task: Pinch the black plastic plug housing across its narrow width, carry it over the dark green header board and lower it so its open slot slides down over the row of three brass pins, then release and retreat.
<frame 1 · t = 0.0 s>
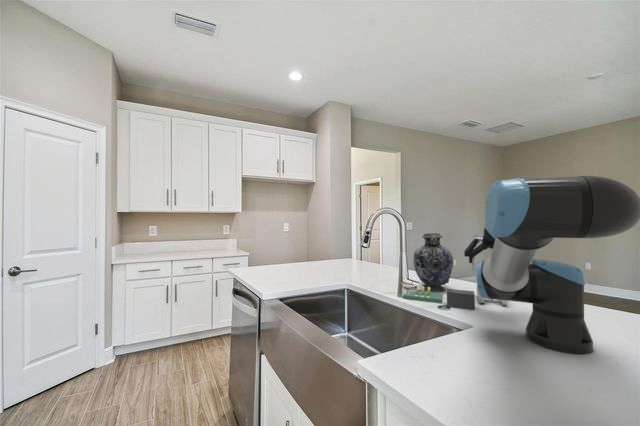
hand: (492, 269, 116), 15 cm above the worktop, tool tilted 35°, fingers open, 13 cm apart
decorative vase: (432, 289, 145), on the worktop
header board: (423, 297, 129), on the worktop
cable organizer: (490, 301, 123), on the worktop
plug housing: (460, 306, 117), on the worktop
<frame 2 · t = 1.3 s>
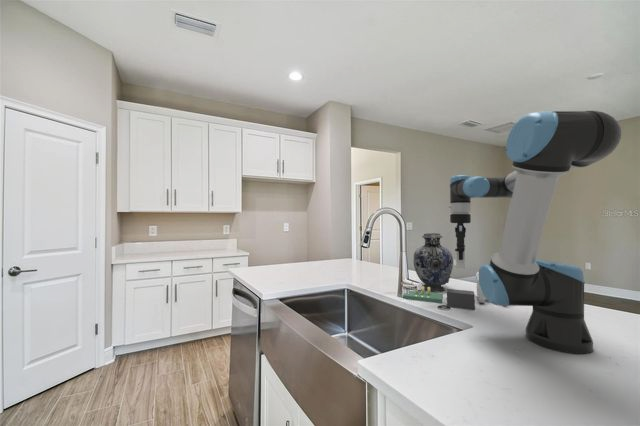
hand: (460, 265, 117), 17 cm above the worktop, tool pointing down, fingers open, 13 cm apart
nothing on the worktop moved.
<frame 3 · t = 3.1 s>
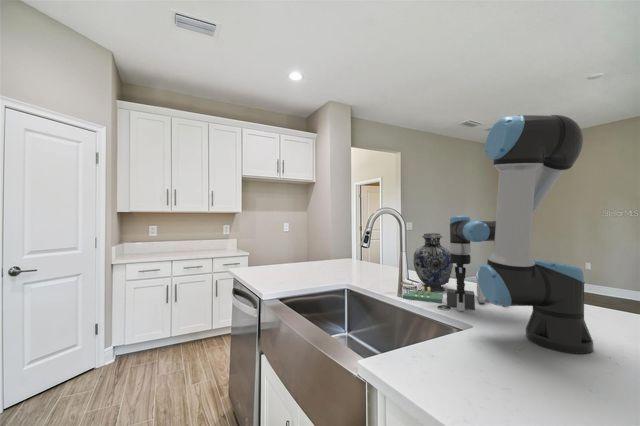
hand: (460, 305, 117), 0 cm above the worktop, tool pointing down, fingers open, 13 cm apart
nothing on the worktop moved.
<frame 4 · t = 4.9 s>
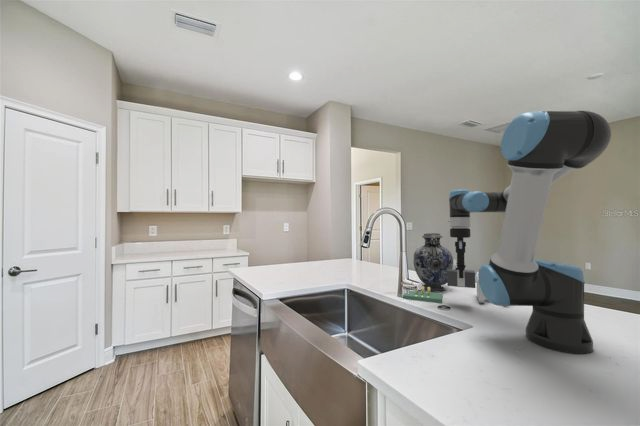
hand: (460, 284, 116), 9 cm above the worktop, tool pointing down, fingers closed on plug housing, 6 cm apart
plug housing: (460, 285, 116), point 9 cm above the worktop, touching gripper
everything else where it was.
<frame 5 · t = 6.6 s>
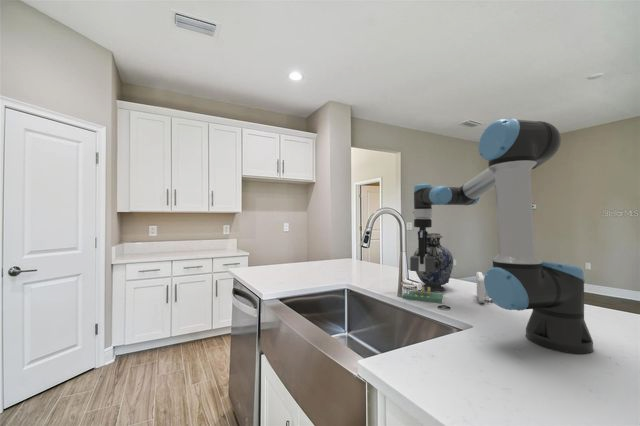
hand: (422, 269, 129), 13 cm above the worktop, tool pointing down, fingers closed on plug housing, 6 cm apart
plug housing: (422, 270, 129), point 12 cm above the worktop, touching gripper
everything else where it was.
when the fingers open (2 cm above the worktop, at t = 8.7 s): plug housing stays where it is, resting on header board.
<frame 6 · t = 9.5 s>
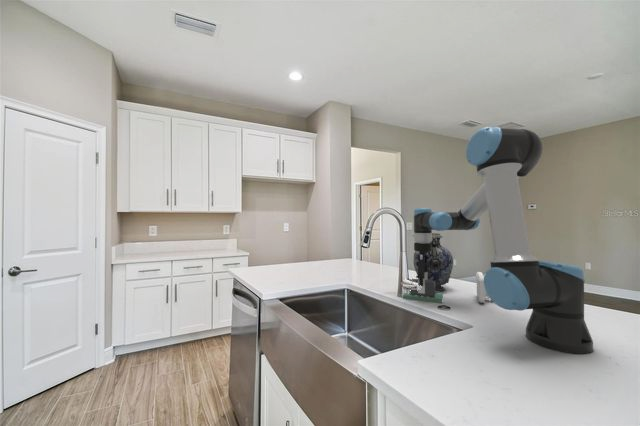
hand: (422, 289, 129), 4 cm above the worktop, tool pointing down, fingers open, 13 cm apart
plug housing: (423, 294, 129), point 2 cm above the worktop, touching header board
everything else where it was.
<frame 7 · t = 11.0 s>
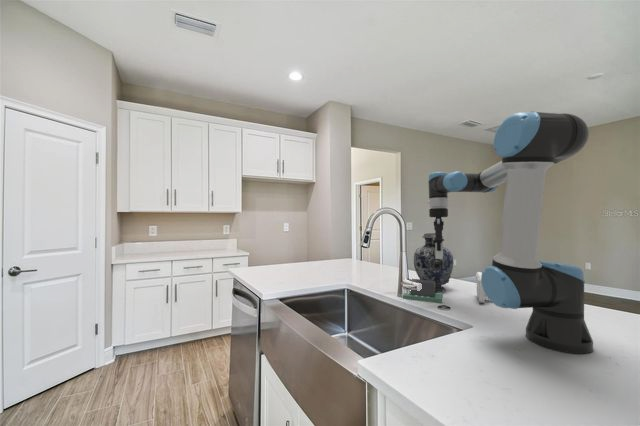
hand: (439, 257, 123), 19 cm above the worktop, tool pointing down, fingers open, 13 cm apart
nothing on the worktop moved.
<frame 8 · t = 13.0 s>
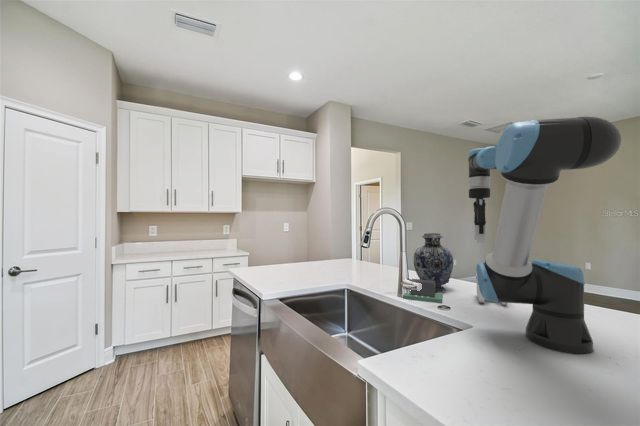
hand: (479, 241, 114), 27 cm above the worktop, tool pointing down, fingers open, 13 cm apart
nothing on the worktop moved.
at the end: plug housing 0.0 cm off-centre on the header board, point 1.6 cm above the header board's base; plug housing tilted 1°; the gripper is holding nothing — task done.
